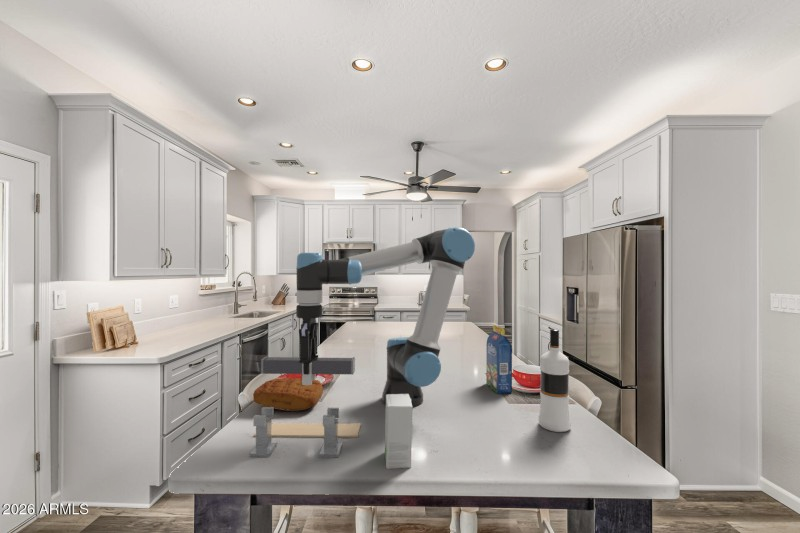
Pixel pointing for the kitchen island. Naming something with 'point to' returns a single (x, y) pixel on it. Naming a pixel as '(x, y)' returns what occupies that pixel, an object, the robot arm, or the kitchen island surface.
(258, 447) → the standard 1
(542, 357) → the vodka
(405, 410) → the skincare box
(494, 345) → the blue food package
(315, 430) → the mat
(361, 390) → the kitchen island surface
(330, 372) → the rail
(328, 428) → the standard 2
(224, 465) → the kitchen island surface
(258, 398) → the inscribed clay slab
